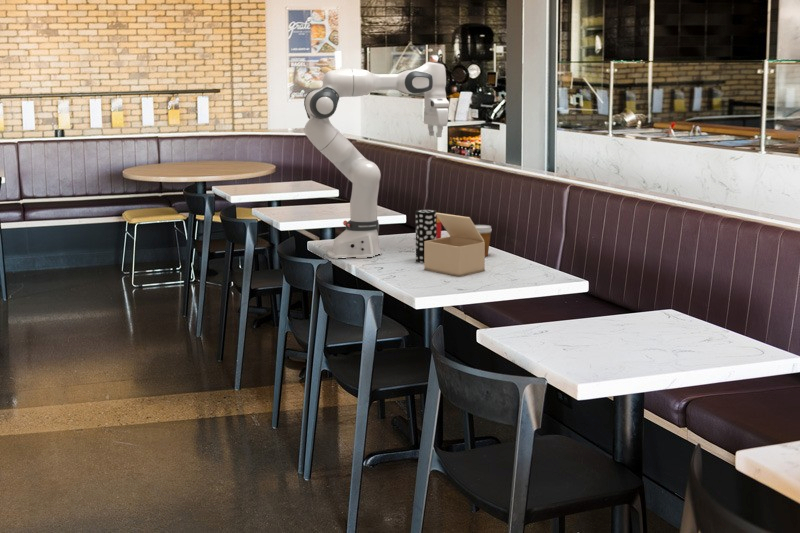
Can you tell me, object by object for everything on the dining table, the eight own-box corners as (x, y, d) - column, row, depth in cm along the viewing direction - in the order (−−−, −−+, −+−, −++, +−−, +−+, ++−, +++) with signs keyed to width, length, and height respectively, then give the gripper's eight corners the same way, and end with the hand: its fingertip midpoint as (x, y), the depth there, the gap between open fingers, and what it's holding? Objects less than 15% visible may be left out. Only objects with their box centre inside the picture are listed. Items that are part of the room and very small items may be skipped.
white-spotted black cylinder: (422, 258, 391) (422, 209, 387) (440, 260, 387) (440, 210, 383) (412, 262, 384) (411, 211, 380) (430, 264, 380) (430, 213, 376)
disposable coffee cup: (493, 253, 398) (493, 225, 396) (489, 258, 389) (489, 228, 387) (470, 252, 401) (471, 224, 398) (466, 257, 392) (466, 228, 390)
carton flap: (469, 218, 356) (469, 217, 357) (435, 213, 368) (436, 212, 369) (483, 241, 364) (484, 240, 364) (450, 236, 376) (451, 235, 376)
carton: (459, 276, 357) (459, 247, 354) (424, 269, 369) (424, 241, 367) (484, 270, 366) (484, 242, 364) (449, 264, 379) (449, 236, 376)
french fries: (425, 241, 427) (425, 212, 424) (433, 240, 429) (433, 211, 426) (435, 245, 419) (435, 215, 416) (444, 244, 421) (444, 214, 418)
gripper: (419, 101, 404) (419, 134, 407) (435, 103, 385) (435, 138, 388) (434, 101, 406) (434, 134, 409) (450, 102, 387) (450, 137, 389)
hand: (435, 136), depth 398 cm, fingers open, 8 cm apart
